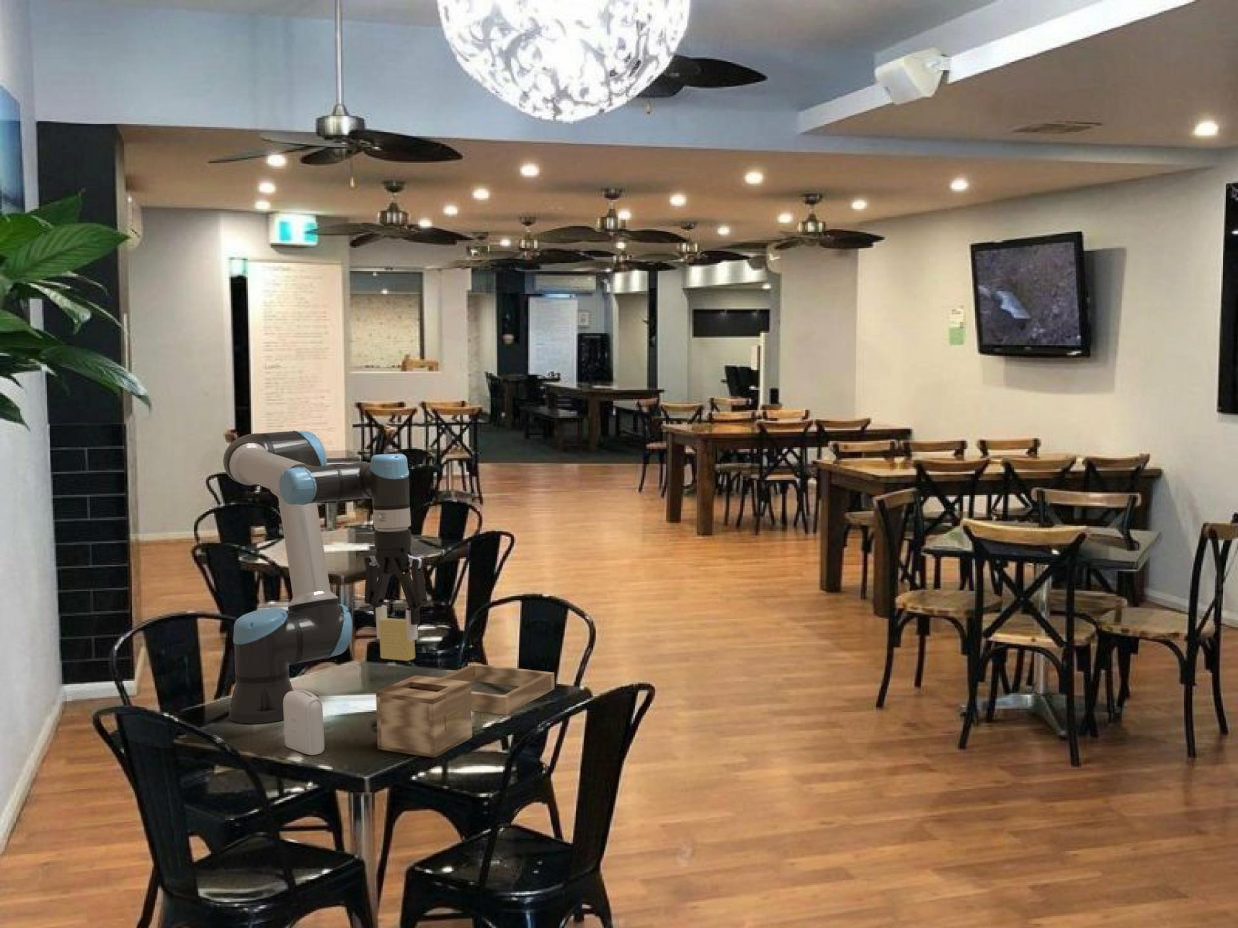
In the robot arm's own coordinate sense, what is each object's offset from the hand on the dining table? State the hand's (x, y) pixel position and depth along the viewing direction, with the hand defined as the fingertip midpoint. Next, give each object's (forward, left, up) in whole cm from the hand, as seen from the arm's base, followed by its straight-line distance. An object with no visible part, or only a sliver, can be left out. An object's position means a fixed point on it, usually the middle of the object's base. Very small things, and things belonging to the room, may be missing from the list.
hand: (397, 638), depth 248 cm
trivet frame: (-1, +37, -22) cm, 43 cm away
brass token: (0, 0, -4) cm, 4 cm away
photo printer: (-16, -12, -22) cm, 30 cm away
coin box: (+5, +2, -22) cm, 23 cm away
